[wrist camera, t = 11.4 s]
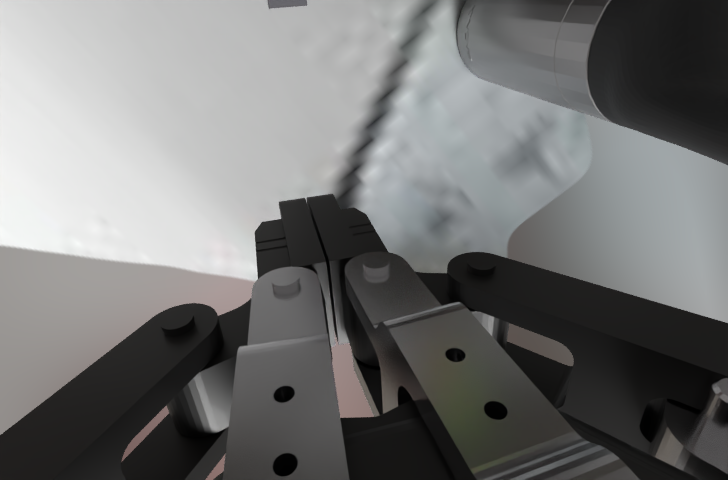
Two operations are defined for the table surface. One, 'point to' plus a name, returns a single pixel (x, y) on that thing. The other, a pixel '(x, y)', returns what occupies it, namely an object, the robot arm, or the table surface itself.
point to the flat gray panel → (286, 3)
